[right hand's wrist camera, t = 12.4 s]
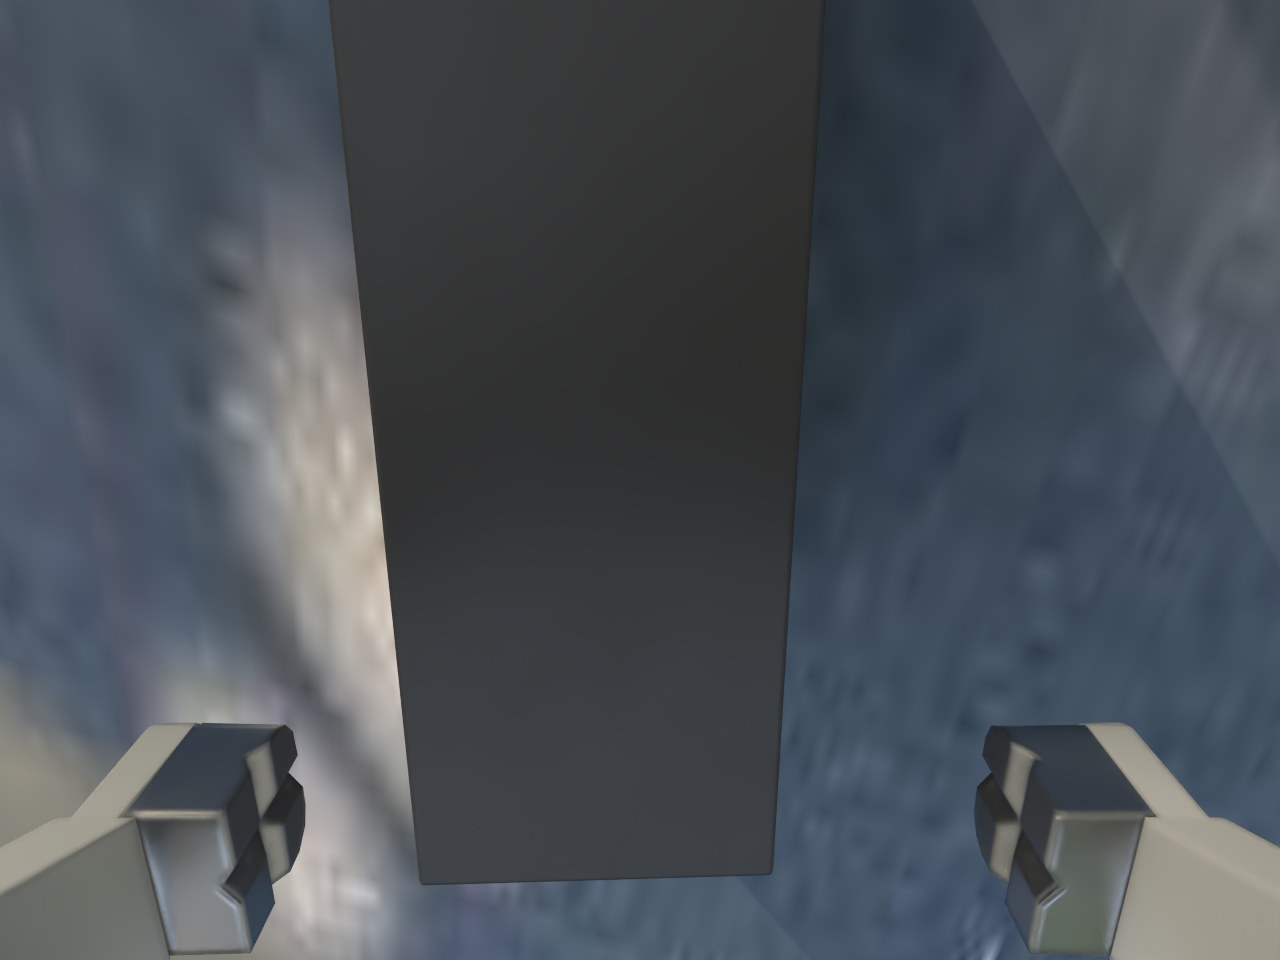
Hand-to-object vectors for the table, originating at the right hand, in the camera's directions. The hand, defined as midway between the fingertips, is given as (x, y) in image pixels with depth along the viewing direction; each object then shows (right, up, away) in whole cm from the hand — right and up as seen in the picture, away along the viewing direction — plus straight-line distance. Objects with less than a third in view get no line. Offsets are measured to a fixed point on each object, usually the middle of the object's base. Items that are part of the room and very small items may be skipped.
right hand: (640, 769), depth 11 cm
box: (-1, +11, +11) cm, 15 cm away
